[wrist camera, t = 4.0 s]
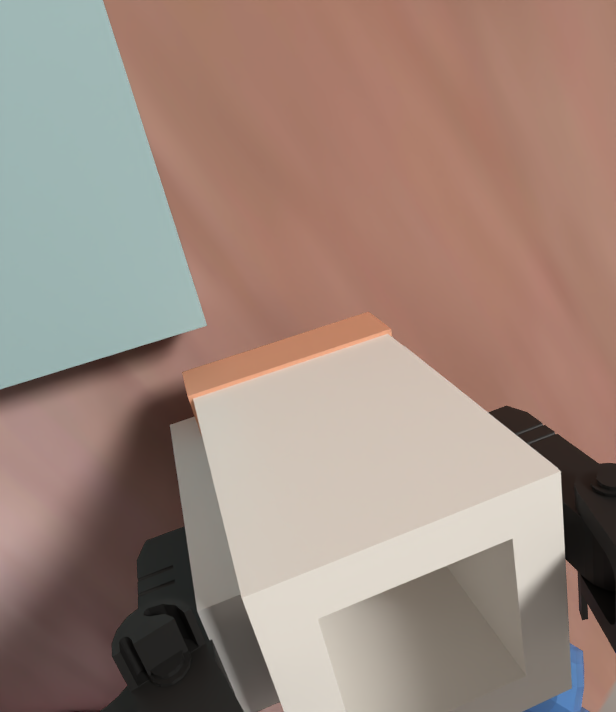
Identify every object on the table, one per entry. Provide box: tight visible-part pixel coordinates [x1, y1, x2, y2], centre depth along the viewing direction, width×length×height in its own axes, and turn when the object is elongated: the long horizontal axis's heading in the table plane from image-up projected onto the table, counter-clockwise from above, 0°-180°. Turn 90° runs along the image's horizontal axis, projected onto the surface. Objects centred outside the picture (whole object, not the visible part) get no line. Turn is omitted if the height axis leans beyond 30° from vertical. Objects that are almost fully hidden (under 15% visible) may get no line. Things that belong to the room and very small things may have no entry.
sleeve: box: [182, 312, 572, 712], centre depth 13 cm, size 5×5×8 cm
